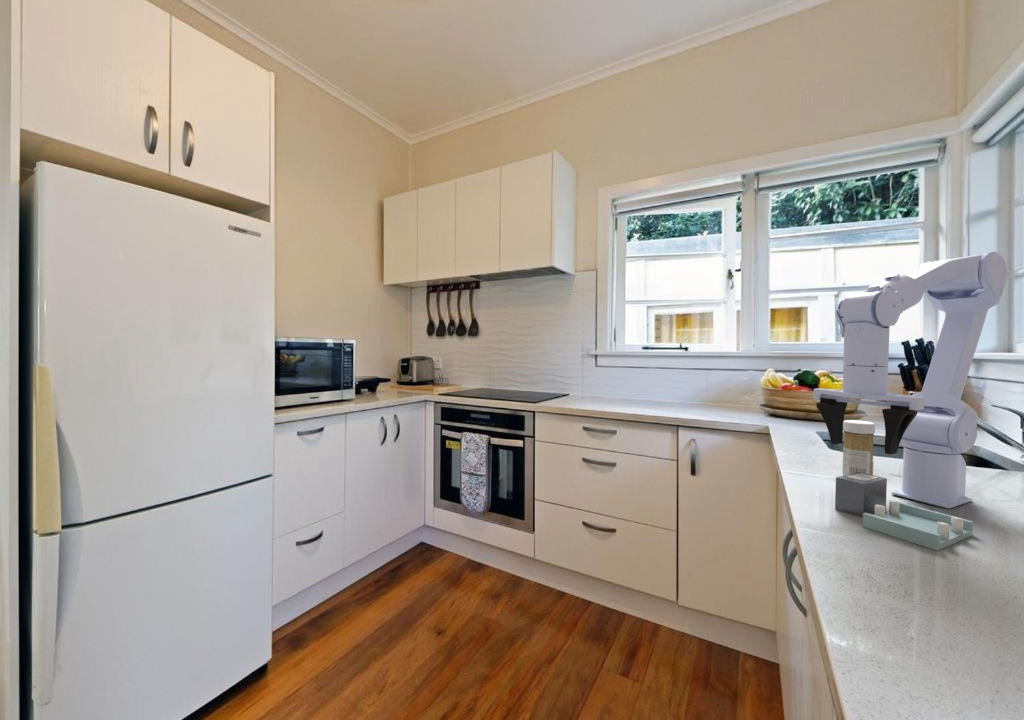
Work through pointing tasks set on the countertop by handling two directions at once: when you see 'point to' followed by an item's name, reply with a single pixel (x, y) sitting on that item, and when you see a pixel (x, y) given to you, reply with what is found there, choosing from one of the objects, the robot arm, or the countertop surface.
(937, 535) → the tray
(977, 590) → the countertop surface
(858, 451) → the sprinkles bottle
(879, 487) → the dark grey block
